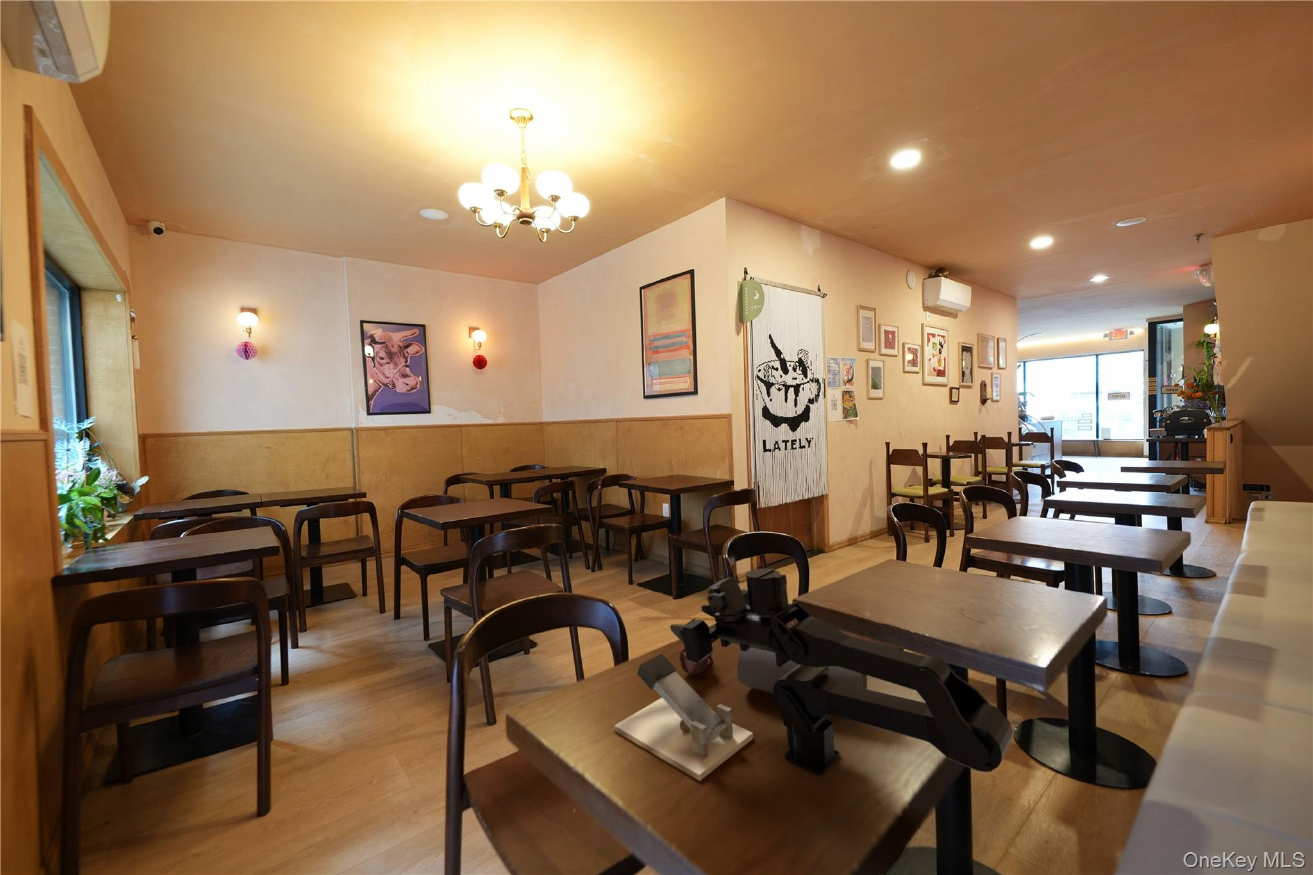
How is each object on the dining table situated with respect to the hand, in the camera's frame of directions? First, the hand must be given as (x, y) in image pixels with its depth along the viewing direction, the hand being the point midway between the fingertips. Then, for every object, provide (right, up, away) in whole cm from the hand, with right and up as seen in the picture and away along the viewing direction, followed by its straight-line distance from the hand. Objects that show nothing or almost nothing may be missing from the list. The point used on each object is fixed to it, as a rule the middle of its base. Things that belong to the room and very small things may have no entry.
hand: (687, 617), depth 104 cm
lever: (-2, -12, -9) cm, 15 cm away
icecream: (+3, -16, +12) cm, 21 cm away
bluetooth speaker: (+22, -16, 0) cm, 27 cm away
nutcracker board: (-1, -18, -9) cm, 20 cm away
